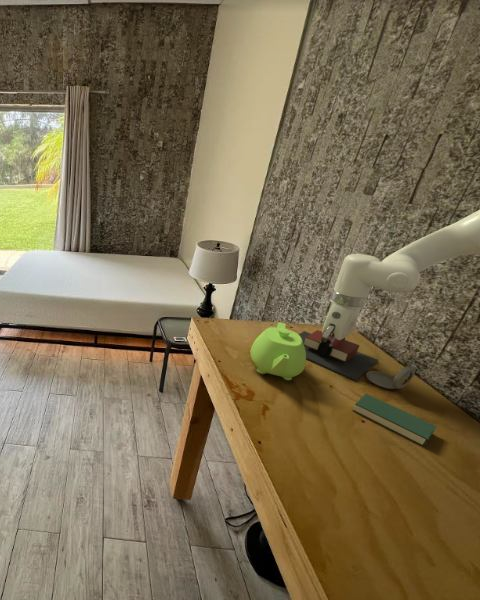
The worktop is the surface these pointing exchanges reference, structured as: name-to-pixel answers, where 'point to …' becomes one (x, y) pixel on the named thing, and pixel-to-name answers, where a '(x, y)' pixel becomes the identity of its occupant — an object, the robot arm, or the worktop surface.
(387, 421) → the bottom book
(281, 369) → the teapot
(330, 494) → the worktop surface
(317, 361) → the felt mat
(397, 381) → the pocket watch
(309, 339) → the top book
